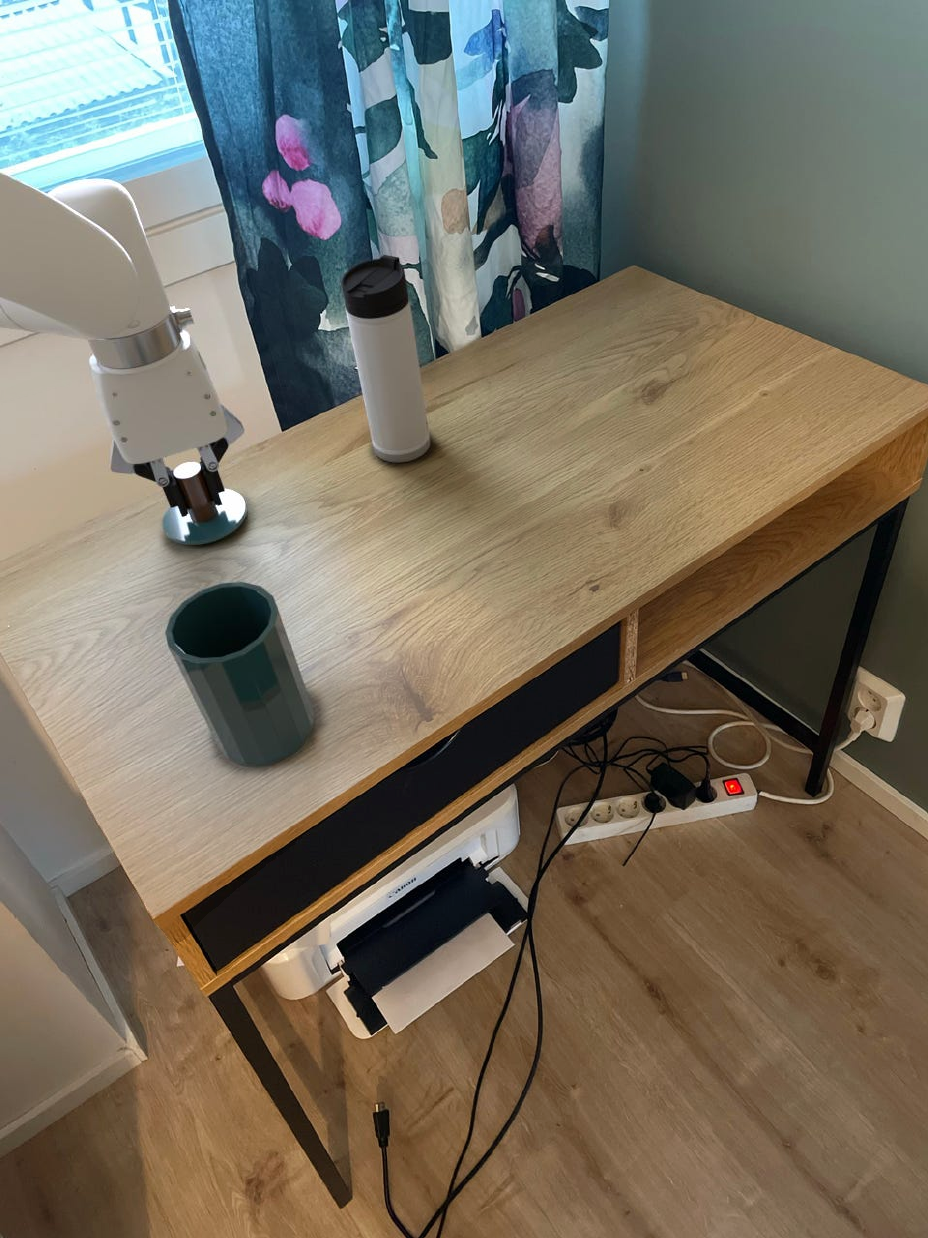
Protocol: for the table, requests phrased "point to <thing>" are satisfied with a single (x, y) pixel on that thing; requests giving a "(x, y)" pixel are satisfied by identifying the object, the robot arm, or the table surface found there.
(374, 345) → the travel mug
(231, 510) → the lid
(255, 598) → the pot
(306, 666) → the table surface
